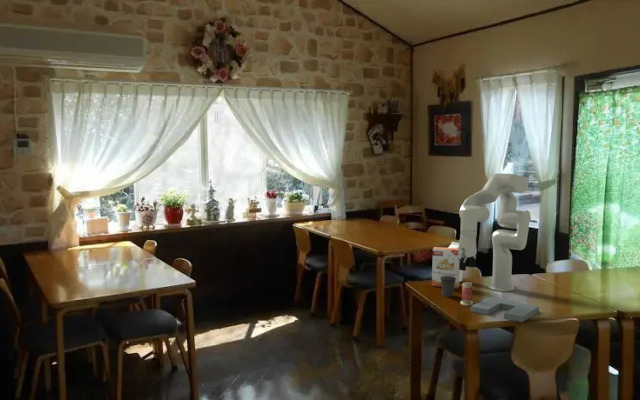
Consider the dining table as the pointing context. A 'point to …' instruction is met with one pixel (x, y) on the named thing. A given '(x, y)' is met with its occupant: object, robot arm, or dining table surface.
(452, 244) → the milk
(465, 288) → the bobbin
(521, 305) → the notched board
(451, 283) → the coffee cup
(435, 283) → the cracker box
